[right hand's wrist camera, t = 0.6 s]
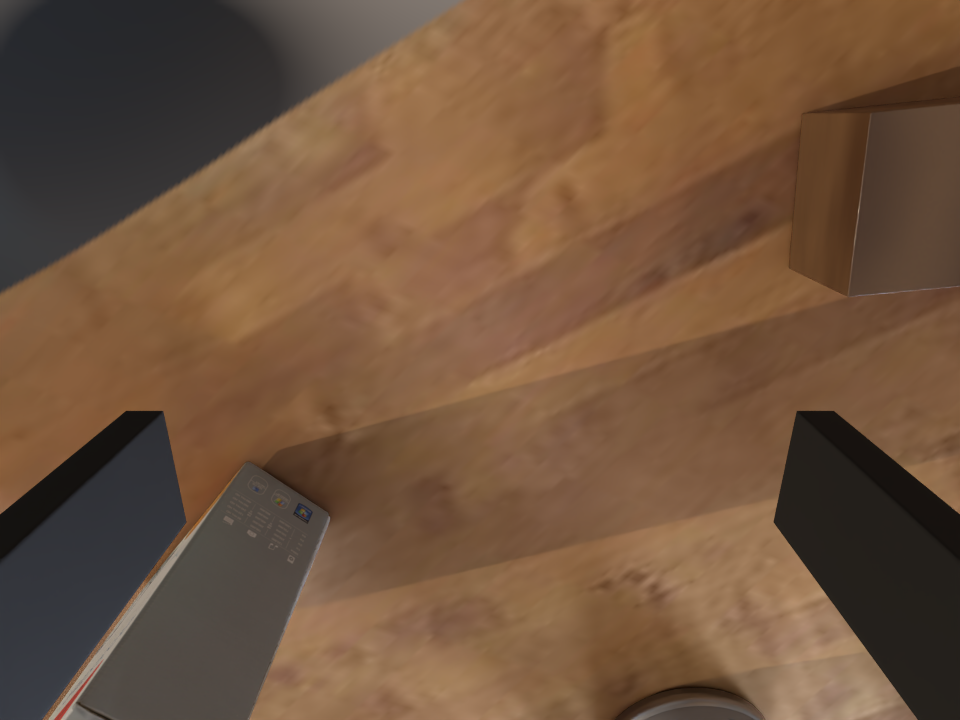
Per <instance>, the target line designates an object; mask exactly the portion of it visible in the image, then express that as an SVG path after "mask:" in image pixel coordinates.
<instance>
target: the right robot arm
mask: <svg viewBox="0 0 960 720" xmlns="http://www.w3.org/2000/svg"><path fill="white" fill-rule="evenodd" d="M185 523H186V518H185V513H184V508H183V503H182V499H181V494H180V489H179V484H178V480H177V475H176V470H175V465H174V460H173V456H172V451H171V446H170V441H169V436H168V432H167V427H166V422H165V417H164V413H163V411H126V412H124V413H123V414H122V415H121V416H120V417H118V418H117V419H116V420H115V421H113V422H112V423H111V424H110V425H109V426H107V427H106V428H105V429H104V430H102V431H101V432H100V433H99V434H98V435H96V436H95V437H94V438H93V439H92V440H90V441H89V442H88V443H87V444H85V445H84V446H83V447H82V448H81V449H79V450H78V451H77V452H76V453H74V454H73V455H72V456H71V457H70V458H68V459H67V460H66V461H65V462H64V463H62V464H61V465H60V466H59V467H57V468H56V469H55V470H54V471H53V472H51V473H50V474H49V475H48V476H46V477H45V478H44V479H43V480H42V481H40V482H39V483H38V484H37V485H36V486H34V487H33V488H32V489H31V490H29V491H28V492H27V493H26V494H25V495H23V496H22V497H21V498H20V499H18V500H17V501H16V502H15V503H14V504H12V505H11V506H10V507H9V508H8V509H6V510H5V511H4V512H3V513H1V514H0V720H42V719H43V718H44V716H45V715H46V714H47V712H48V711H49V709H50V708H51V707H52V705H53V704H54V703H55V701H56V700H57V699H58V697H59V696H60V694H61V693H62V692H63V690H64V689H65V688H66V686H67V685H68V683H69V682H70V681H71V679H72V678H73V677H74V675H75V674H76V673H77V671H78V670H79V668H80V667H81V666H82V664H83V663H84V662H85V660H86V659H87V657H88V656H89V655H90V653H91V652H92V651H93V649H94V648H95V647H96V645H97V644H98V642H99V641H100V640H101V638H102V637H103V636H104V634H105V633H106V632H107V630H108V629H109V627H110V626H111V625H112V623H113V622H114V621H115V619H116V618H117V616H118V615H119V614H120V612H121V611H122V610H123V608H124V607H125V606H126V604H127V603H128V601H129V600H130V599H131V597H132V596H133V595H134V593H135V592H136V590H137V589H138V588H139V586H140V585H141V584H142V582H143V581H144V580H145V578H146V577H147V575H148V574H149V573H150V571H151V570H152V569H153V567H154V566H155V564H156V563H157V562H158V560H159V559H160V558H161V556H162V555H163V554H164V552H165V551H166V549H167V548H168V547H169V545H170V544H171V543H172V541H173V540H174V538H175V537H176V536H177V534H178V533H179V532H180V530H181V529H182V528H183V526H184V525H185ZM774 523H775V525H776V526H777V528H778V529H779V530H780V532H781V533H782V534H783V536H784V537H785V538H786V540H787V541H788V543H789V544H790V545H791V547H792V548H793V549H794V551H795V552H796V554H797V555H798V556H799V558H800V559H801V560H802V562H803V563H804V564H805V566H806V567H807V569H808V570H809V571H810V573H811V574H812V575H813V577H814V578H815V580H816V581H817V582H818V584H819V585H820V586H821V588H822V589H823V590H824V592H825V593H826V595H827V596H828V597H829V599H830V600H831V601H832V603H833V604H834V606H835V607H836V608H837V610H838V611H839V612H840V614H841V615H842V616H843V618H844V619H845V621H846V622H847V623H848V625H849V626H850V627H851V629H852V630H853V632H854V633H855V634H856V636H857V637H858V638H859V640H860V641H861V642H862V644H863V645H864V647H865V648H866V649H867V651H868V652H869V653H870V655H871V656H872V657H873V659H874V660H875V662H876V663H877V664H878V666H879V667H880V668H881V670H882V671H883V673H884V674H885V675H886V677H887V678H888V679H889V681H890V682H891V683H892V685H893V686H894V688H895V689H896V690H897V692H898V693H899V694H900V696H901V697H902V699H903V700H904V701H905V703H906V704H907V705H908V707H909V708H910V709H911V711H912V712H913V714H914V715H915V716H916V718H917V719H918V720H960V514H959V513H957V512H956V511H955V510H954V509H952V508H951V507H950V506H949V505H948V504H946V503H945V502H944V501H943V500H942V499H940V498H939V497H938V496H937V495H935V494H934V493H933V492H932V491H931V490H929V489H928V488H927V487H926V486H924V485H923V484H922V483H921V482H920V481H918V480H917V479H916V478H915V477H914V476H912V475H911V474H910V473H909V472H907V471H906V470H905V469H904V468H903V467H901V466H900V465H899V464H898V463H896V462H895V461H894V460H893V459H892V458H890V457H889V456H888V455H887V454H886V453H884V452H883V451H882V450H881V449H879V448H878V447H877V446H876V445H875V444H873V443H872V442H871V441H870V440H868V439H867V438H866V437H865V436H864V435H862V434H861V433H860V432H859V431H858V430H856V429H855V428H854V427H853V426H851V425H850V424H849V423H848V422H847V421H845V420H844V419H843V418H842V417H840V416H839V415H838V414H837V413H836V412H834V411H797V413H796V417H795V422H794V427H793V432H792V436H791V441H790V446H789V451H788V456H787V460H786V465H785V470H784V475H783V480H782V484H781V489H780V494H779V499H778V503H777V508H776V513H775V518H774ZM615 720H765V718H764V717H763V715H762V714H761V713H760V712H759V710H758V709H757V708H755V707H754V706H753V705H752V704H751V703H749V702H748V701H746V700H744V699H743V698H741V697H739V696H736V695H734V694H731V693H728V692H725V691H721V690H716V689H709V688H682V689H675V690H669V691H665V692H661V693H658V694H655V695H652V696H650V697H647V698H645V699H643V700H641V701H639V702H637V703H635V704H634V705H632V706H630V707H629V708H627V709H626V710H625V711H623V712H622V713H621V714H620V715H619V716H618V717H617V718H616V719H615Z"/></svg>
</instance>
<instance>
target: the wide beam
mask: <svg viewBox="0 0 960 720" xmlns="http://www.w3.org/2000/svg"><path fill="white" fill-rule="evenodd" d="M789 269H792V270H794V271H796V272H798V273H800V274H802V275H804V276H806V277H808V278H810V279H812V280H814V281H816V282H818V283H820V284H822V285H825V286H827V287H829V288H831V289H833V290H835V291H837V292H839V293H841V294H843V295H845V296H847V297H854V296H864V295H875V294H885V293H896V292H907V291H917V290H928V289H938V288H949V287H960V97H953V98H944V99H934V100H925V101H915V102H906V103H896V104H887V105H877V106H868V107H858V108H849V109H839V110H830V111H820V112H811V113H803V114H802V123H801V134H800V146H799V157H798V169H797V180H796V192H795V203H794V215H793V226H792V238H791V249H790V261H789Z"/></svg>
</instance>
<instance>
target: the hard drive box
mask: <svg viewBox="0 0 960 720" xmlns="http://www.w3.org/2000/svg"><path fill="white" fill-rule="evenodd" d="M328 515H329V514H328V512H326V511H325V510H323V509H322V508H320V507H319V506H317V505H316V504H314V503H312V502H311V501H309V500H308V499H306V498H305V497H303V496H302V495H300V494H299V493H297V492H296V491H294V490H293V489H291V488H289V487H288V486H286V485H285V484H283V483H282V482H280V481H279V480H277V479H276V478H274V477H273V476H271V475H270V474H268V473H267V472H265V471H264V470H262V469H260V468H259V467H257V466H256V465H254V464H253V463H251V462H246V463H245V464H244V465H243V466H242V467H241V468H240V470H239V471H238V472H237V473H236V474H235V476H234V477H233V478H232V479H231V481H230V482H229V483H228V484H227V486H226V487H225V488H224V489H223V491H222V492H221V493H220V494H219V495H218V497H217V498H216V499H215V500H214V502H213V503H212V504H211V505H210V507H209V508H208V509H207V510H206V512H205V513H204V514H203V515H202V516H201V518H200V519H199V520H198V521H197V523H196V524H195V525H194V526H193V528H192V529H191V530H190V531H189V532H188V534H187V535H186V536H185V537H184V539H183V540H182V541H181V542H180V544H179V545H178V546H177V547H176V548H175V550H174V551H173V552H172V553H171V555H170V556H169V557H168V558H167V560H166V561H165V562H164V563H163V565H162V566H161V567H160V568H159V570H158V571H157V572H156V573H155V575H154V576H153V577H152V578H151V580H150V581H149V582H148V583H147V585H146V586H145V587H144V588H143V590H142V591H141V593H140V594H139V595H138V597H137V598H136V599H135V601H134V602H133V603H132V605H131V606H130V607H129V609H128V610H127V612H126V613H125V614H124V616H123V617H122V618H121V620H120V621H119V622H118V624H117V625H116V627H115V628H114V629H113V631H112V632H111V633H110V635H109V636H108V638H107V639H106V640H105V642H104V643H103V645H102V646H101V647H100V649H99V650H98V651H97V653H96V654H95V656H94V657H93V658H92V660H91V661H90V663H89V664H88V665H87V667H86V668H85V669H84V671H83V672H82V674H81V675H80V676H79V678H78V679H77V681H76V682H75V683H74V685H73V686H72V687H71V689H70V690H69V692H68V693H67V694H66V696H65V697H64V699H63V700H62V701H61V703H60V704H59V705H58V707H57V708H56V710H55V711H54V712H53V714H52V715H51V716H50V718H49V719H48V720H249V719H250V716H251V714H252V711H253V709H254V706H255V704H256V701H257V699H258V696H259V694H260V691H261V689H262V686H263V684H264V682H265V679H266V677H267V674H268V672H269V669H270V667H271V664H272V662H273V659H274V657H275V654H276V652H277V649H278V647H279V644H280V642H281V640H282V637H283V635H284V632H285V630H286V627H287V625H288V623H289V620H290V618H291V615H292V613H293V610H294V608H295V605H296V603H297V600H298V598H299V596H300V593H301V591H302V588H303V586H304V583H305V581H306V579H307V576H308V574H309V571H310V569H311V566H312V564H313V561H314V559H315V556H316V554H317V552H318V549H319V547H320V544H321V542H322V539H323V537H324V534H325V532H326V529H327V527H328V524H329V521H330V517H329V516H328Z"/></svg>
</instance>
